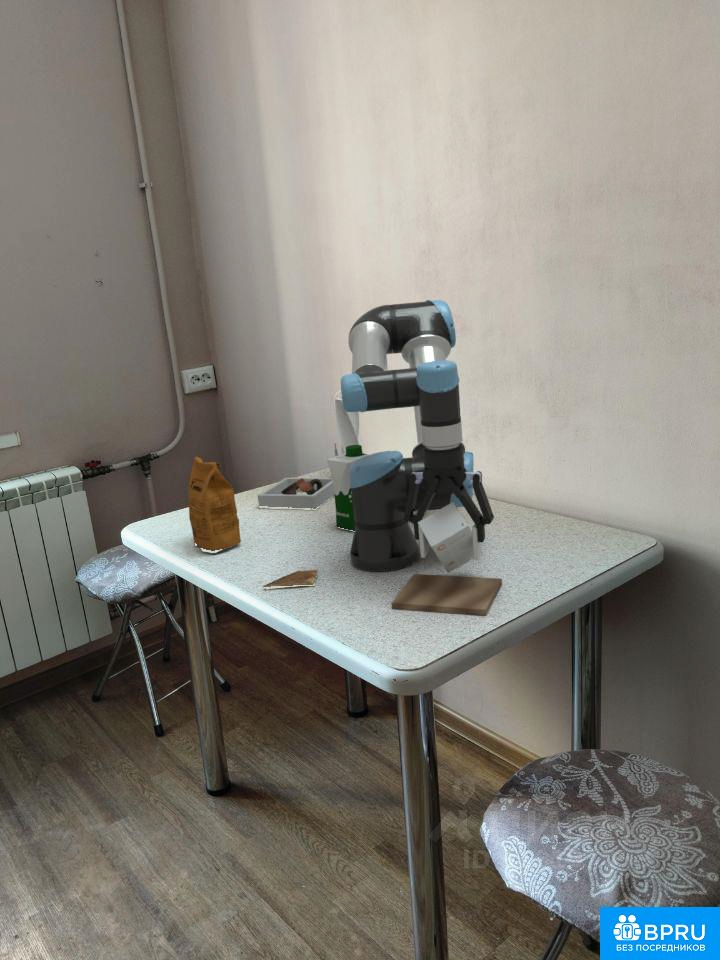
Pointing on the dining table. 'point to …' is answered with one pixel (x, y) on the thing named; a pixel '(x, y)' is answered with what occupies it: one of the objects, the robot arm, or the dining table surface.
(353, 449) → the milk carton
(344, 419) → the skyscraper
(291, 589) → the dining table surface
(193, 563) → the dining table surface
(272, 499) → the shallow grey tray
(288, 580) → the shard
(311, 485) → the pottery mug
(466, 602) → the walnut board
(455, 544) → the small box
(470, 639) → the dining table surface
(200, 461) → the coffee package
